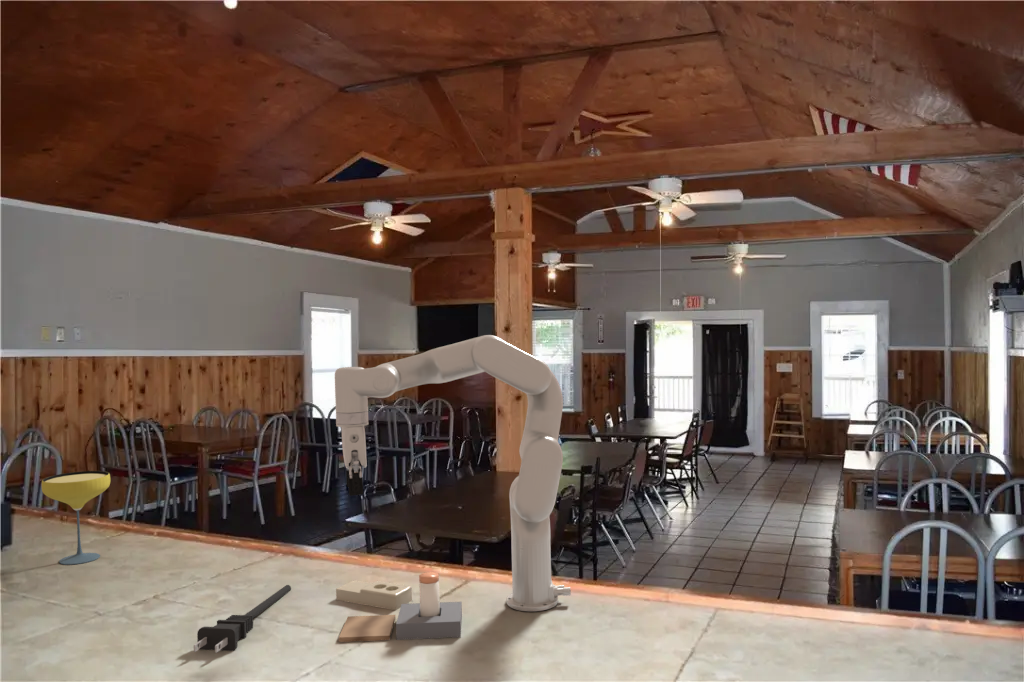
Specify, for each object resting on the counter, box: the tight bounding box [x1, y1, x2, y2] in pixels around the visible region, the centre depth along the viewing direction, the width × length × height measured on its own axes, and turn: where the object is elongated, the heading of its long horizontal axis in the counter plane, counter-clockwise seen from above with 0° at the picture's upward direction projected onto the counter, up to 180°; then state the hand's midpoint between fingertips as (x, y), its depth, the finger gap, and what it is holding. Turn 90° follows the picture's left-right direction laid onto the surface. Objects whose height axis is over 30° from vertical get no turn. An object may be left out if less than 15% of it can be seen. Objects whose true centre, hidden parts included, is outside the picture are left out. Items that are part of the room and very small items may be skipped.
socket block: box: [395, 601, 463, 641], centre depth 178 cm, size 14×12×4 cm
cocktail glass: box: [41, 470, 111, 566], centre depth 236 cm, size 18×18×25 cm
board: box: [338, 614, 396, 643], centre depth 178 cm, size 11×12×1 cm
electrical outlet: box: [335, 579, 413, 611], centre depth 197 cm, size 7×4×18 cm
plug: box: [418, 571, 440, 617], centre depth 178 cm, size 4×4×12 cm
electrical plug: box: [193, 584, 292, 653], centre depth 185 cm, size 9×42×5 cm, turn 172°
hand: (354, 490), depth 188 cm, fingers open, 9 cm apart
